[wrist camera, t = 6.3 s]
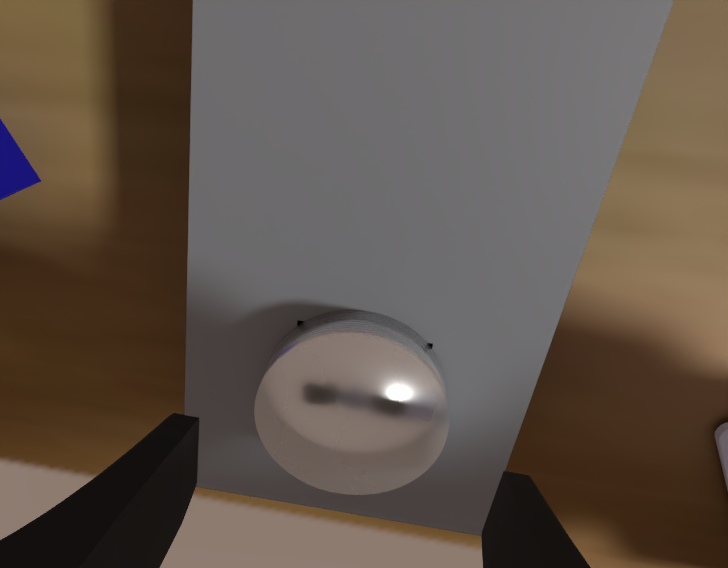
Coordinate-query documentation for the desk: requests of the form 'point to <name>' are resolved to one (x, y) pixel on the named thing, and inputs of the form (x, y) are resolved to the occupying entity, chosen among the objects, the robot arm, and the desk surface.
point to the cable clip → (13, 166)
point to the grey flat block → (397, 207)
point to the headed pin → (353, 403)
